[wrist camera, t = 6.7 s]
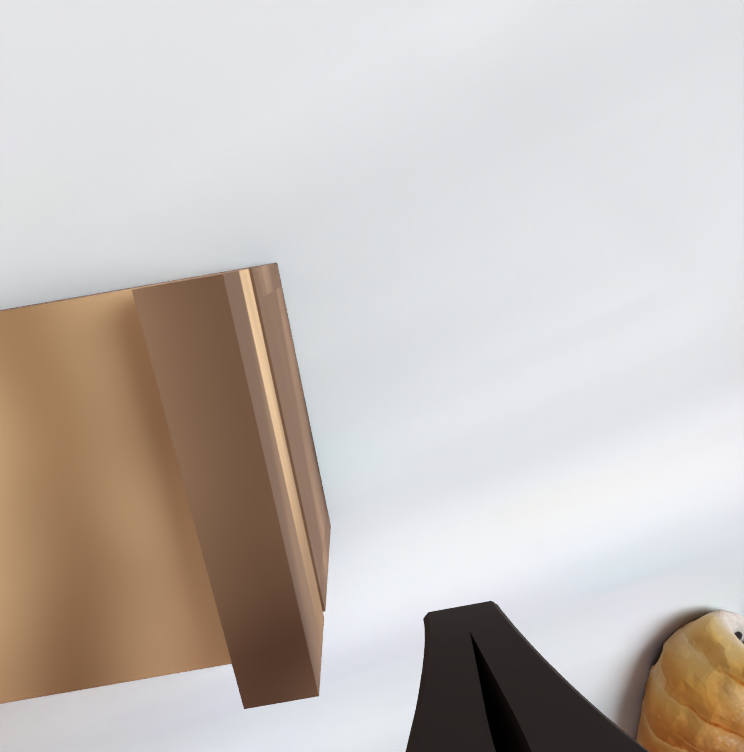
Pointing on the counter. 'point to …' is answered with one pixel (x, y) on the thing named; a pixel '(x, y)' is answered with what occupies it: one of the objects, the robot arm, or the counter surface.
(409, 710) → the counter surface
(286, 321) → the keepsake box
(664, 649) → the pastry
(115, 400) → the lid
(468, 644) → the robot arm
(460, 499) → the counter surface
